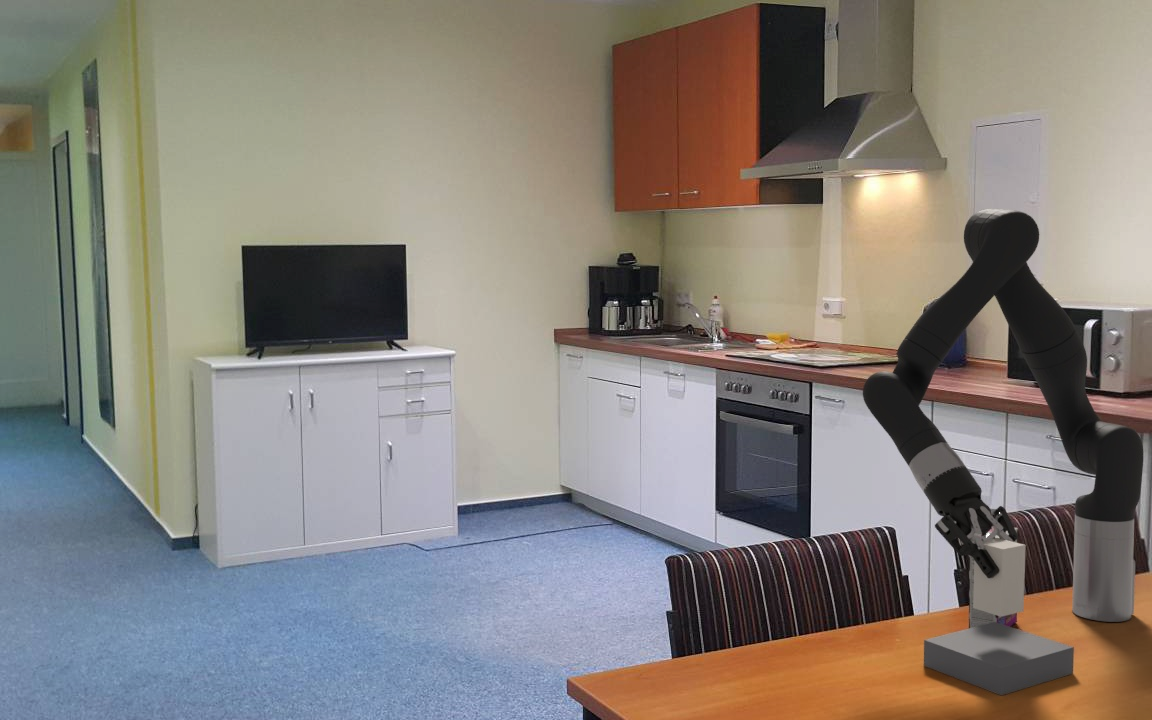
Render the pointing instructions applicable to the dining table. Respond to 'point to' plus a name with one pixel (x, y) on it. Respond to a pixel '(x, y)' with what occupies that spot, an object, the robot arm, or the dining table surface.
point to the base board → (998, 657)
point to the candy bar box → (980, 616)
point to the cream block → (1001, 579)
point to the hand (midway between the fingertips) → (1007, 572)
